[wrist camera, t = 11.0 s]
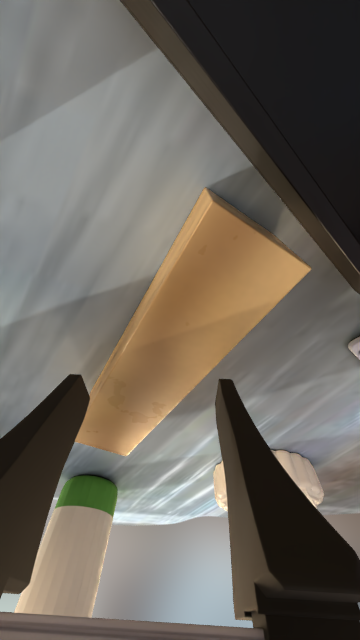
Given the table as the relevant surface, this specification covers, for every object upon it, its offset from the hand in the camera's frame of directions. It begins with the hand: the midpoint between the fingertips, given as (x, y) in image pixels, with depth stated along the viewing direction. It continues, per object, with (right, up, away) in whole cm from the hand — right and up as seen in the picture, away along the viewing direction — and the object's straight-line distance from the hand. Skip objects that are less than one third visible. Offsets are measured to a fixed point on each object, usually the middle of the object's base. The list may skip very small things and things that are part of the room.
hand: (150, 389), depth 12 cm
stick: (0, +3, +4) cm, 5 cm away
